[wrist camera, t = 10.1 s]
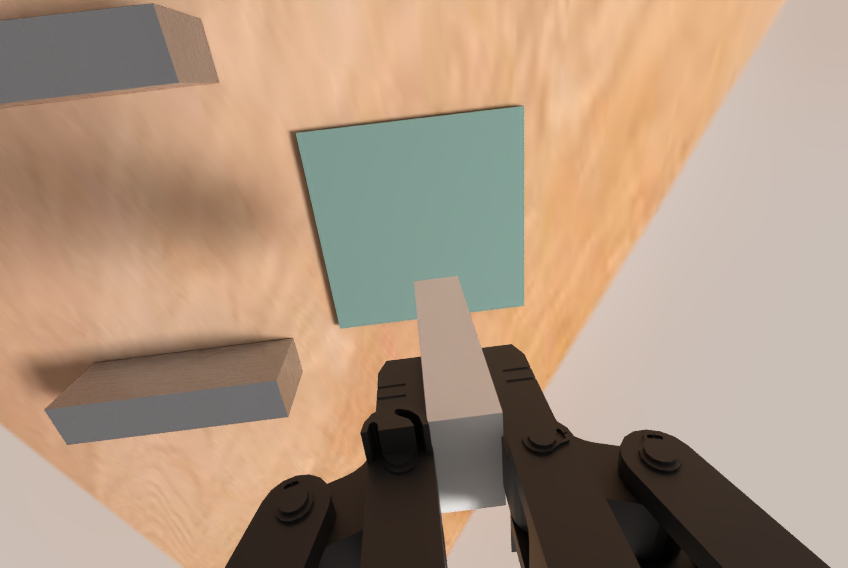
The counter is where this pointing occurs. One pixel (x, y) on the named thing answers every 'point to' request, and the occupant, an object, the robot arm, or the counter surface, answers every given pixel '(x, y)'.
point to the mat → (419, 210)
